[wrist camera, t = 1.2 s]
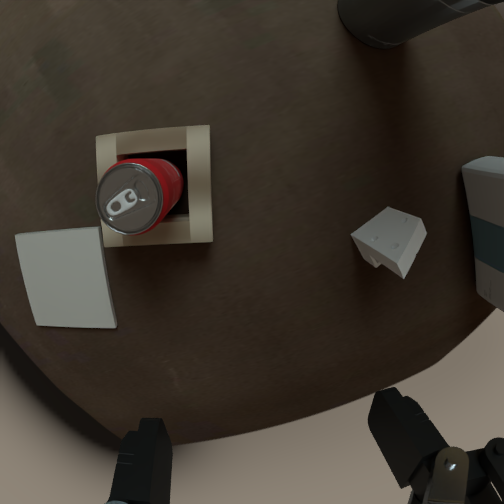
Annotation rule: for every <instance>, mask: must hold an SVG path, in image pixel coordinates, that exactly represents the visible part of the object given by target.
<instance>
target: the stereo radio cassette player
mask: <svg viewBox="0 0 504 504" xmlns="http://www.w3.org/2000/svg"><path fill="white" fill-rule="evenodd" d="M461 171H462V176H463V180H464V185H465V190H466V196H467V201H468V207H469V214H470V221H471V228H472V236H473V246H474V256H475V271H476V290H477V293H478V294H479V295H480V296H481V297H483V298H484V299H485V300H487V301H488V302H490V303H491V304H493V305H494V306H496V307H497V308H499V309H500V310H502V311H503V312H504V158H501V157H493V156H486V157H482V158H479V159H476V160H473V161H471V162H469V163H467V164H465V165H464V166H462V170H461Z"/></svg>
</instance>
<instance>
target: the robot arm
mask: <svg viewBox="0 0 504 504" xmlns="http://www.w3.org/2000/svg"><path fill="white" fill-rule="evenodd" d="M501 2H504V0H338V12H339V15H340V18H341V20H342V21H343V23H344V25H345V26H346V27H347V29H348V30H349V31H350V32H351V33H352V34H353V35H354V36H355V37H356V38H358V39H359V40H361V41H362V42H364V43H366V44H368V45H370V46H373V47H376V48H381V49H389V48H392V47H395V46H397V45H399V44H401V43H403V42H405V41H407V40H409V39H412V38H414V37H416V36H418V35H420V34H422V33H425V32H427V31H429V30H431V29H433V28H436V27H438V26H440V25H442V24H445V23H447V22H449V21H452V20H454V19H457V18H459V17H462V16H464V15H467V14H469V13H472V12H474V11H477V10H480V9H482V8H485V7H488V6H491V5H494V4H497V3H501ZM368 425H369V428H370V431H371V433H372V435H373V437H374V438H375V440H376V442H377V444H378V446H379V448H380V450H381V452H382V454H383V456H384V457H385V459H386V461H387V463H388V465H389V467H390V469H391V471H392V472H393V475H394V476H395V478H396V480H397V482H398V484H399V486H400V488H401V489H402V488H404V487H407V486H409V485H411V487H412V489H413V490H412V491H411V494H410V498H409V501H408V504H504V438H494V439H492V440H490V441H489V442H488V443H487V445H486V446H485V448H482V449H477V450H473V451H467V452H465V451H464V450H462V449H460V448H458V447H450V446H449V445H448V444H447V443H446V441H445V440H444V438H443V437H442V436H441V434H440V433H439V431H438V430H437V429H436V427H435V426H434V424H433V423H432V422H431V420H429V418H428V416H427V415H426V413H424V411H423V409H422V408H421V407H420V405H419V404H418V403H417V402H416V401H415V400H413V399H412V398H410V397H408V396H405V397H402V395H401V394H400V392H399V391H398V390H397V388H395V387H391V388H388V389H384V390H381V391H377V392H376V393H375V395H374V398H373V402H372V405H371V409H370V412H369V415H368ZM172 454H173V453H172V444H171V441H170V438H169V435H168V433H167V430H166V427H165V425H164V422H163V420H162V418H141V420H140V424H139V429H138V431H129V432H128V433H127V434H126V436H125V437H124V438H123V439H122V441H121V445H120V450H119V455H118V459H117V464H116V469H115V473H114V478H113V483H112V488H111V493H110V497H109V500H108V501H107V503H106V504H170V487H171V471H172V456H173V455H172ZM490 482H492V483H493V485H494V487H495V488H496V490H497V491H498V493H499V495H500V497H501V499H502V501H501V500H500V498H499V496H498V495H497V493H496V491H495V489H494V488H493V486H492V484H491V483H490Z"/></svg>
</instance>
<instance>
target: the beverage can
mask: <svg viewBox="0 0 504 504" xmlns="http://www.w3.org/2000/svg"><path fill="white" fill-rule="evenodd" d="M183 188H184V180H183V176H182V173H181V171H180V170H179V168H178V167H177V166H176V165H175V164H174V163H172V162H171V161H168V160H166V159H126V160H122V161H120V162H117V163H116V164H114V165H113V166H111V167H110V168H109V169H108V170H107V171H106V172H105V173H104V175H103V176H102V178H101V180H100V182H99V184H98V186H97V190H96V196H95V201H96V208H97V211H98V214H99V216H100V218H101V219H102V221H103V222H104V223H105V224H106V225H107V226H108V227H109V228H110V229H112V230H113V231H115V232H117V233H120V234H123V235H129V236H132V235H140V234H144V233H146V232H148V231H150V230H152V229H153V228H155V227H156V226H157V225H158V224H159V223H160V222H161V220H162V219H163V218H164V217H165V216H166V214H167V213H168V212H169V211H170V210H171V209H172V207H173V206H174V205H175V204H176V203H177V201H178V200H179V199H180V197H181V195H182V192H183Z"/></svg>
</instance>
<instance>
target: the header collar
mask: <svg viewBox="0 0 504 504" xmlns="http://www.w3.org/2000/svg"><path fill="white" fill-rule="evenodd" d="M182 150H187V172H188V198H189V214H175V215H166V216H165V217H164V218H163V219H162V220H161V222H160V223H159V224H158V225H157V226H156V227H155V228H153V229H152V230H150V231H148V232H146V233H144V234H140V235H132V236H129V235H123V234H120V233H117V232H115V231H113V230H112V229H110V228H109V227H108V226H107V225H106V224H105V223H104V222H103V221H102V219H101V224H102V232H103V240H104V247H119V246H138V245H158V244H178V243H199V242H213V221H212V192H211V152H210V125H203V126H184V127H170V128H158V129H148V130H138V131H130V132H121V133H114V134H107V135H100V136H96V156H97V177H98V184H99V182H100V180H101V178H102V176H103V175H104V173H105V172H106V171H107V170H108V169H109V168H110V167H111V166H113V165H114V164H116V163H117V162H120V161H122V160H126V159H128V155H134V154H144V153H155V152H167V151H182Z"/></svg>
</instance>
